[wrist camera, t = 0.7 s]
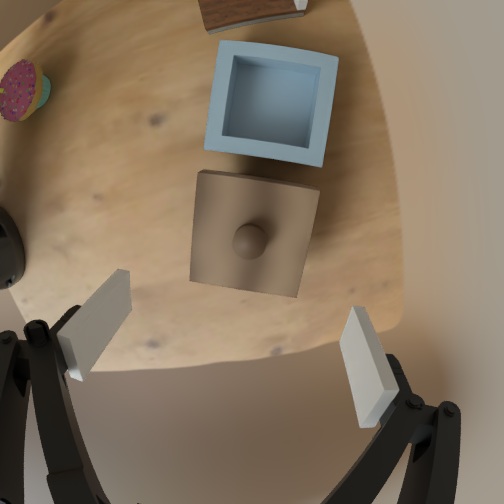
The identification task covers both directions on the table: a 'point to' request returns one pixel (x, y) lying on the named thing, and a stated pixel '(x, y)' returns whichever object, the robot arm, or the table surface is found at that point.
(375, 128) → the table surface
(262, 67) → the dish
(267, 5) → the white stacked pedestal
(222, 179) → the lid
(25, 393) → the robot arm
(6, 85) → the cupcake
